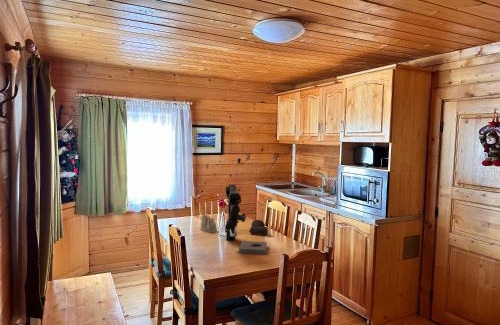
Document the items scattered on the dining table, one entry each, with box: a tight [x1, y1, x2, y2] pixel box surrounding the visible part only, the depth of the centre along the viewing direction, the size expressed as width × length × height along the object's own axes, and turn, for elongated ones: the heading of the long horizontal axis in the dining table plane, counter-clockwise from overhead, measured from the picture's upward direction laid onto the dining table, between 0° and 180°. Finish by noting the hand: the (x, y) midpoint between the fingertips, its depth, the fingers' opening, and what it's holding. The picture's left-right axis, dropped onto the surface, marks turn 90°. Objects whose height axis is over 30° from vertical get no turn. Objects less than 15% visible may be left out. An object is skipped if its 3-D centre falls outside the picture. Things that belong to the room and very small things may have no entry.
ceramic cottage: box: [199, 212, 218, 233], centre depth 292 cm, size 16×16×15 cm
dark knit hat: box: [248, 219, 269, 236], centre depth 284 cm, size 10×15×15 cm
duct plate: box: [238, 240, 268, 255], centre depth 243 cm, size 18×18×3 cm
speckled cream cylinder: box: [230, 225, 238, 237], centre depth 244 cm, size 5×5×8 cm
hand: (233, 232), depth 244 cm, fingers closed on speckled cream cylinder, 5 cm apart
